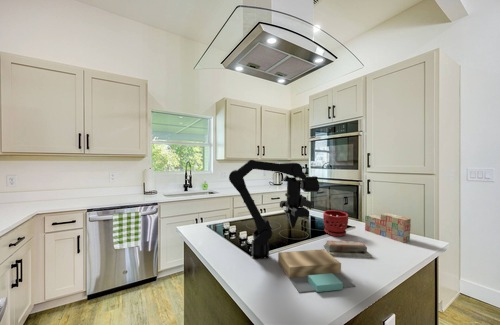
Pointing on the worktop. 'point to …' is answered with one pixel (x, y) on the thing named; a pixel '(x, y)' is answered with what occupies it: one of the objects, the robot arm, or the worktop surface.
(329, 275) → the teal rectangular block
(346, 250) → the packaged product
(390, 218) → the stack of blocks
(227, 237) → the worktop surface
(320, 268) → the board
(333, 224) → the plant pot
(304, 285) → the mat
